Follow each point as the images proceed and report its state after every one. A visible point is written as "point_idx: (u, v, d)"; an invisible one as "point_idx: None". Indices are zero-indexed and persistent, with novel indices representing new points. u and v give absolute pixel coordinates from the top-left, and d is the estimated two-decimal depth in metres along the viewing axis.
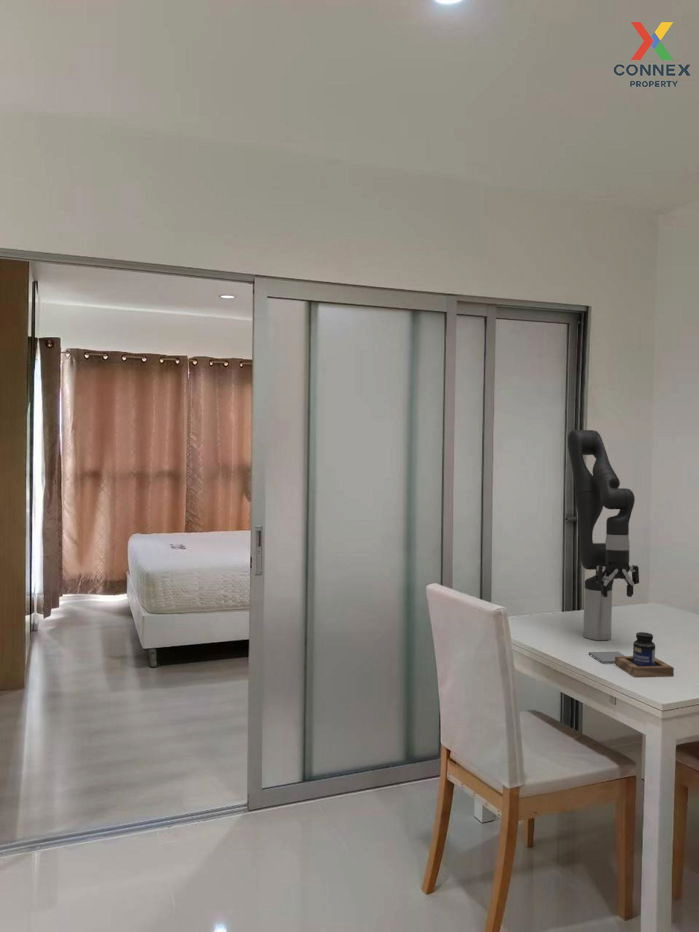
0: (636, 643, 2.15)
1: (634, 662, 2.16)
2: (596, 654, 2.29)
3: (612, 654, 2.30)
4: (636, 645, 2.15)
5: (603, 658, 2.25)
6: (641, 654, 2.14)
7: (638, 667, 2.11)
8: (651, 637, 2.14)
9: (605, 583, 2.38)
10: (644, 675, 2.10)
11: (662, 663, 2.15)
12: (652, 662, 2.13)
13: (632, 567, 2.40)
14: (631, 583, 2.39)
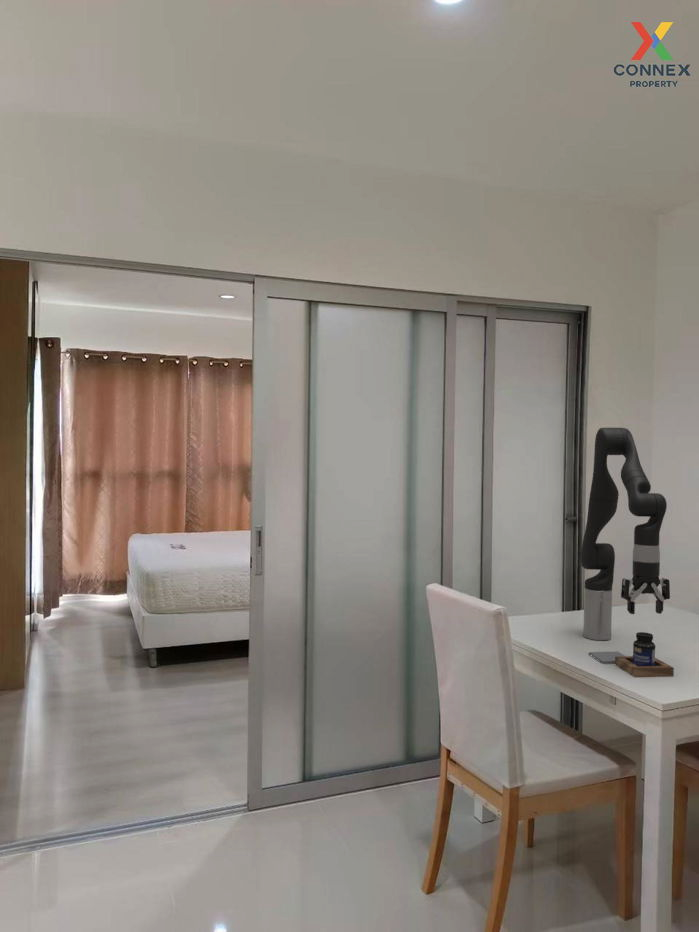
0: (636, 643, 2.15)
1: (634, 662, 2.16)
2: (596, 654, 2.29)
3: (612, 654, 2.30)
4: (636, 645, 2.15)
5: (603, 658, 2.25)
6: (641, 654, 2.14)
7: (638, 667, 2.11)
8: (651, 637, 2.14)
9: (632, 598, 2.14)
10: (644, 675, 2.10)
11: (662, 663, 2.15)
12: (652, 662, 2.13)
13: (662, 581, 2.16)
14: (661, 598, 2.15)
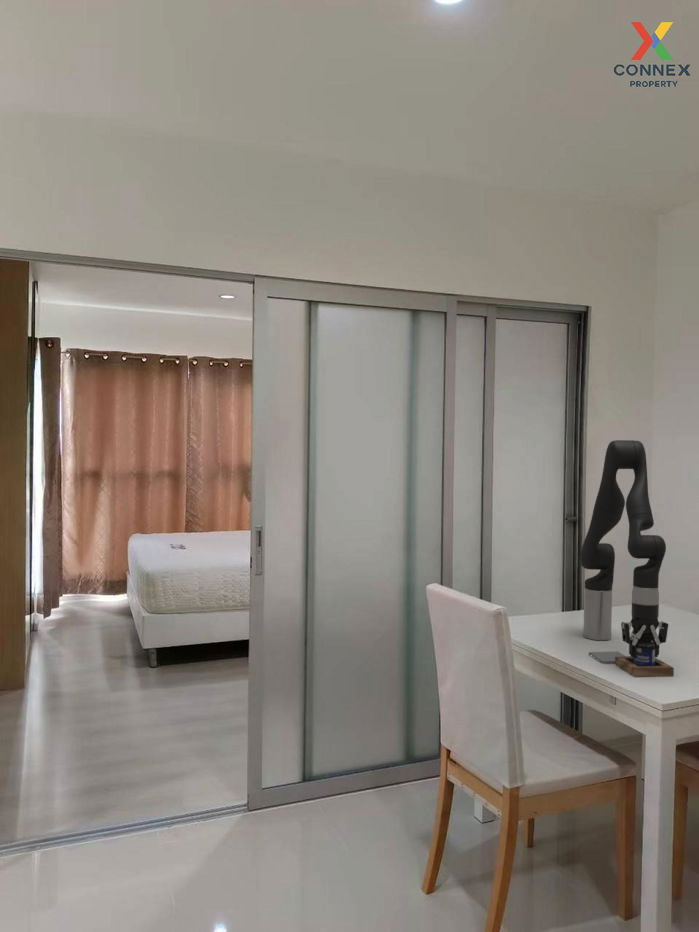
0: (636, 643, 2.15)
1: (634, 662, 2.16)
2: (596, 654, 2.29)
3: (612, 654, 2.30)
4: (636, 645, 2.15)
5: (603, 658, 2.25)
6: (641, 654, 2.14)
7: (638, 667, 2.11)
8: (651, 637, 2.14)
9: (634, 642, 2.14)
10: (644, 675, 2.10)
11: (662, 663, 2.15)
12: (652, 662, 2.13)
13: (661, 624, 2.16)
14: (657, 642, 2.15)
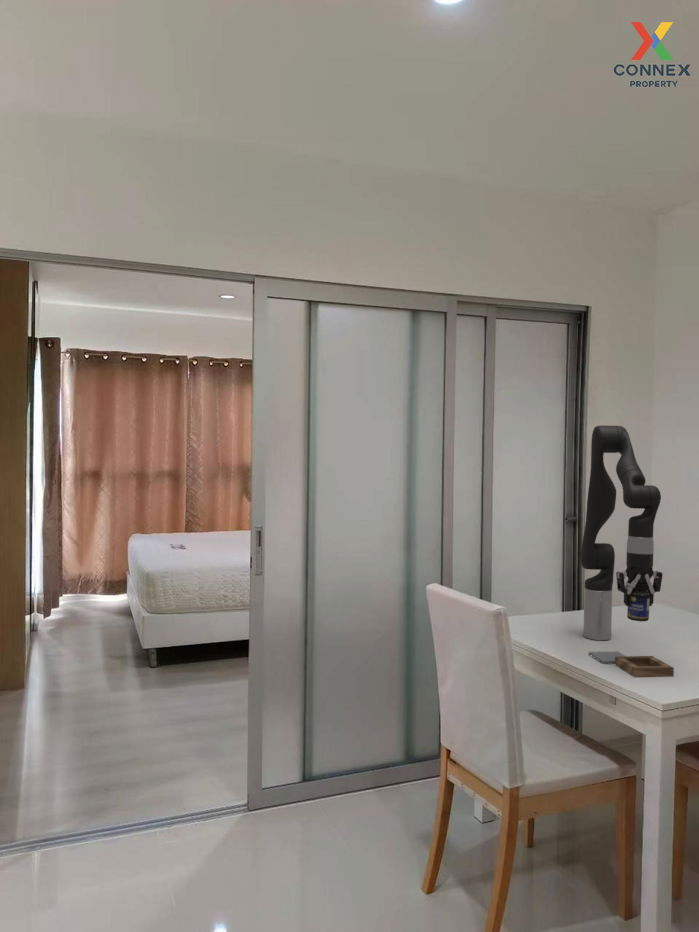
0: (631, 592, 2.17)
1: (629, 611, 2.18)
2: (596, 654, 2.29)
3: (612, 654, 2.30)
4: (631, 594, 2.17)
5: (603, 658, 2.25)
6: (636, 602, 2.16)
7: (638, 667, 2.11)
8: (646, 586, 2.16)
9: (629, 591, 2.16)
10: (644, 675, 2.10)
11: (662, 663, 2.15)
12: (646, 610, 2.16)
13: (656, 573, 2.18)
14: (651, 591, 2.17)
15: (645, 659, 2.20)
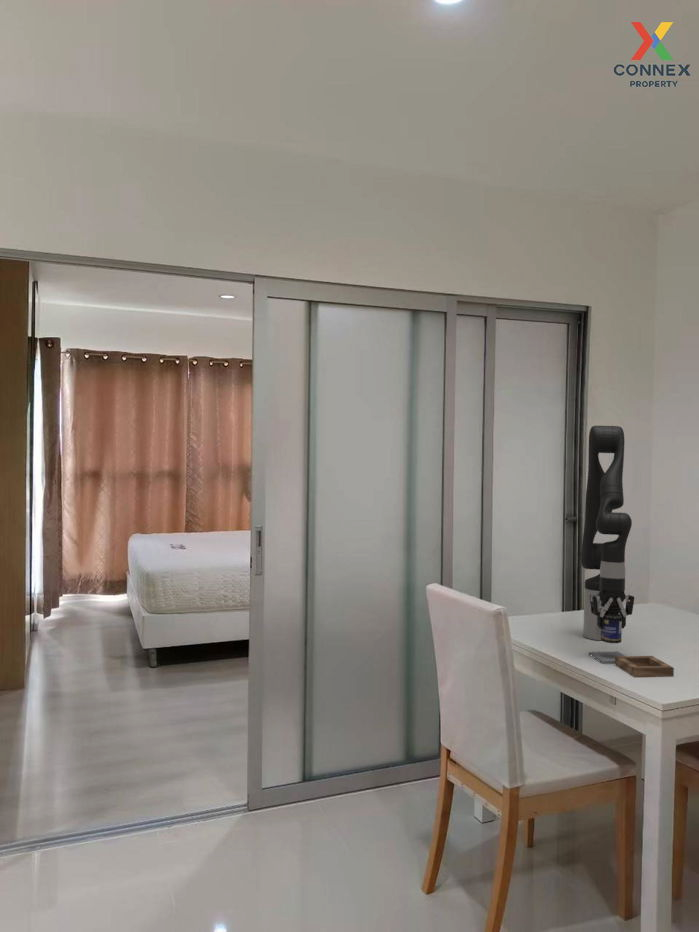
0: (604, 615, 2.26)
1: (602, 633, 2.27)
2: (596, 654, 2.29)
3: (612, 654, 2.30)
4: (604, 617, 2.26)
5: (603, 658, 2.25)
6: (608, 625, 2.25)
7: (638, 667, 2.11)
8: (618, 609, 2.25)
9: (602, 614, 2.25)
10: (644, 675, 2.10)
11: (662, 663, 2.15)
12: (619, 633, 2.25)
13: (628, 597, 2.27)
14: (624, 614, 2.26)
15: (645, 659, 2.20)
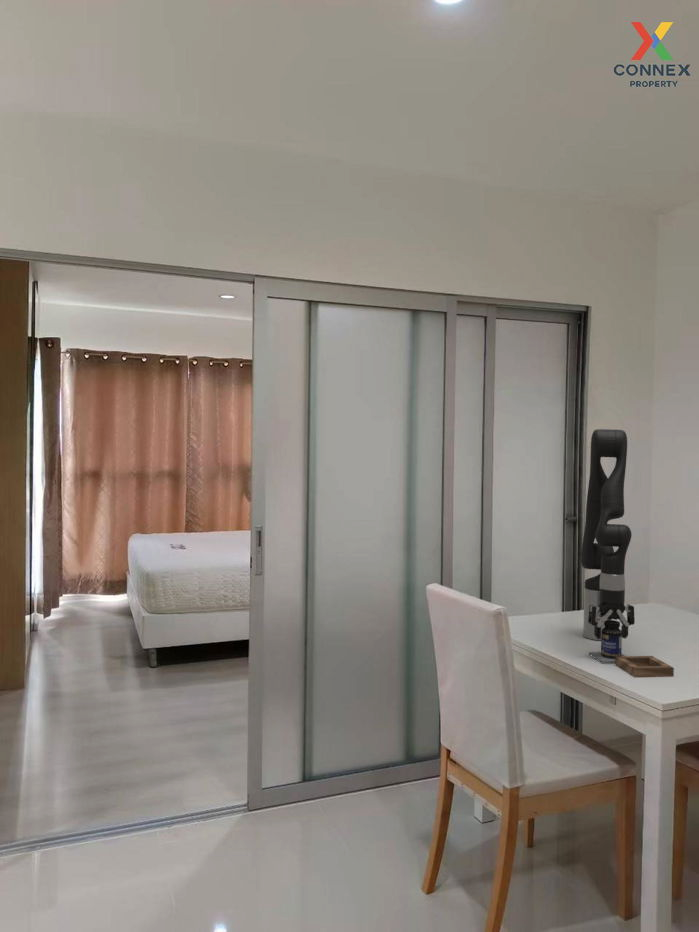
0: (604, 630, 2.27)
1: (602, 648, 2.27)
2: (596, 654, 2.29)
3: None
4: (604, 632, 2.26)
5: (603, 658, 2.25)
6: (608, 640, 2.25)
7: (638, 667, 2.11)
8: (618, 624, 2.25)
9: (598, 624, 2.25)
10: (644, 675, 2.10)
11: (662, 663, 2.15)
12: (619, 648, 2.25)
13: (627, 607, 2.27)
14: (626, 624, 2.27)
15: (645, 659, 2.20)
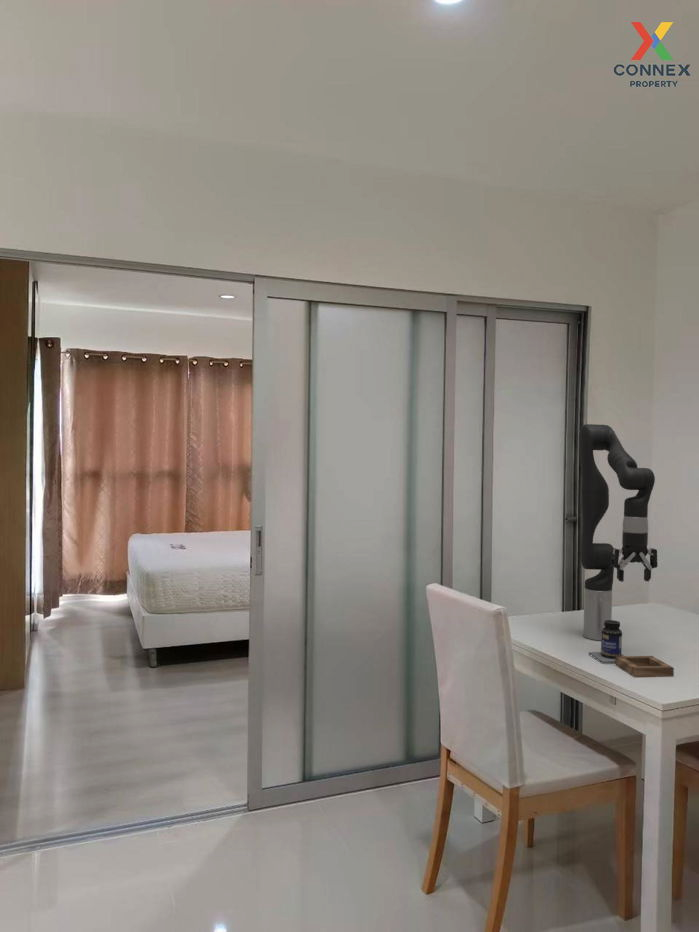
0: (604, 630, 2.27)
1: (602, 648, 2.27)
2: (596, 654, 2.29)
3: None
4: (604, 632, 2.26)
5: (603, 658, 2.25)
6: (608, 640, 2.25)
7: (638, 667, 2.11)
8: (618, 624, 2.25)
9: (621, 567, 2.27)
10: (644, 675, 2.10)
11: (662, 663, 2.15)
12: (619, 648, 2.25)
13: (650, 550, 2.29)
14: (649, 567, 2.28)
15: (645, 659, 2.20)
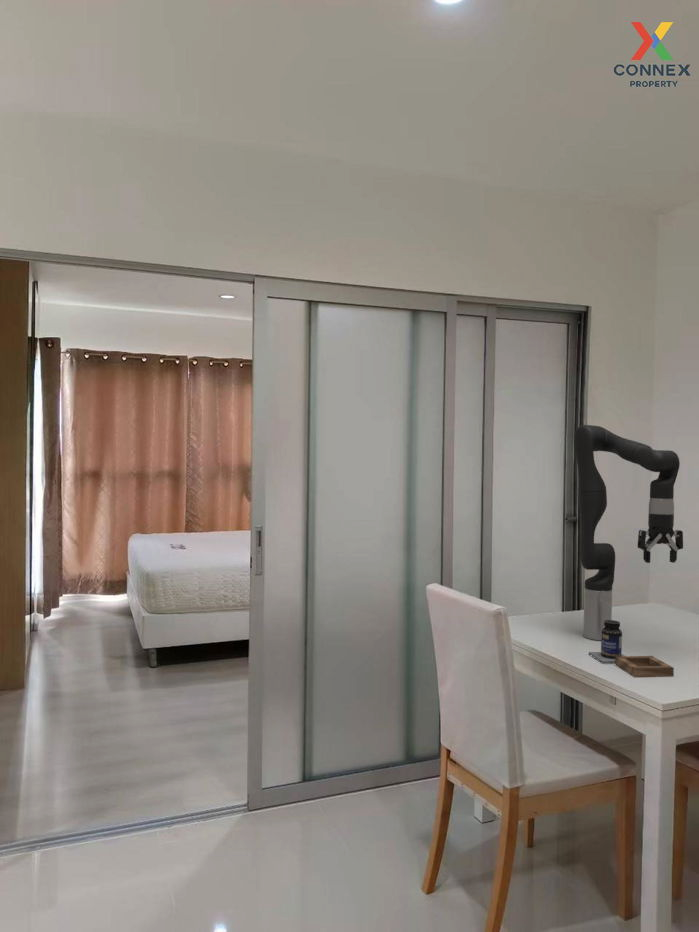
0: (604, 630, 2.27)
1: (602, 648, 2.27)
2: (596, 654, 2.29)
3: None
4: (604, 632, 2.26)
5: (603, 658, 2.25)
6: (608, 640, 2.25)
7: (638, 667, 2.11)
8: (618, 624, 2.25)
9: (648, 548, 2.30)
10: (644, 675, 2.10)
11: (662, 663, 2.15)
12: (619, 648, 2.25)
13: (676, 532, 2.31)
14: (675, 548, 2.31)
15: (645, 659, 2.20)
